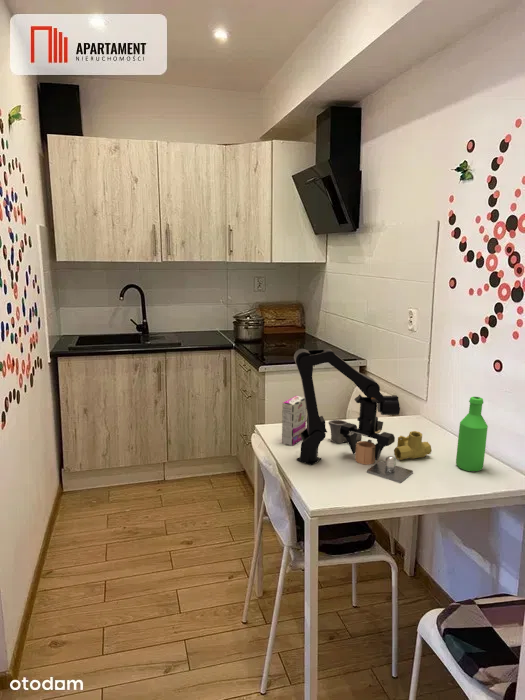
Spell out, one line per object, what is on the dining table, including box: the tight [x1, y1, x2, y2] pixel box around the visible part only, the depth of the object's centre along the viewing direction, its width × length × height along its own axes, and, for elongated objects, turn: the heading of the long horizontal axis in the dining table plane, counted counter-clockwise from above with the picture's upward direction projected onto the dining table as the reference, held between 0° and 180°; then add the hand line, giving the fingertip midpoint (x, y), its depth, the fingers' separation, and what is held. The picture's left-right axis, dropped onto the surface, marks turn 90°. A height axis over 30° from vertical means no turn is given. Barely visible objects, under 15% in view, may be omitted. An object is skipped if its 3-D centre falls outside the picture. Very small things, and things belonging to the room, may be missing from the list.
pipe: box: [328, 419, 363, 444], centre depth 198 cm, size 6×13×8 cm, turn 89°
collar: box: [354, 439, 376, 465], centre depth 181 cm, size 6×6×7 cm
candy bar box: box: [281, 395, 307, 447], centre depth 197 cm, size 11×5×16 cm, turn 148°
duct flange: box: [366, 455, 414, 484], centre depth 172 cm, size 10×12×6 cm
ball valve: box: [393, 430, 433, 461], centre depth 186 cm, size 13×10×10 cm
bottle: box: [455, 396, 489, 472], centre depth 176 cm, size 9×9×25 cm
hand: (365, 457), depth 181 cm, fingers open, 8 cm apart
